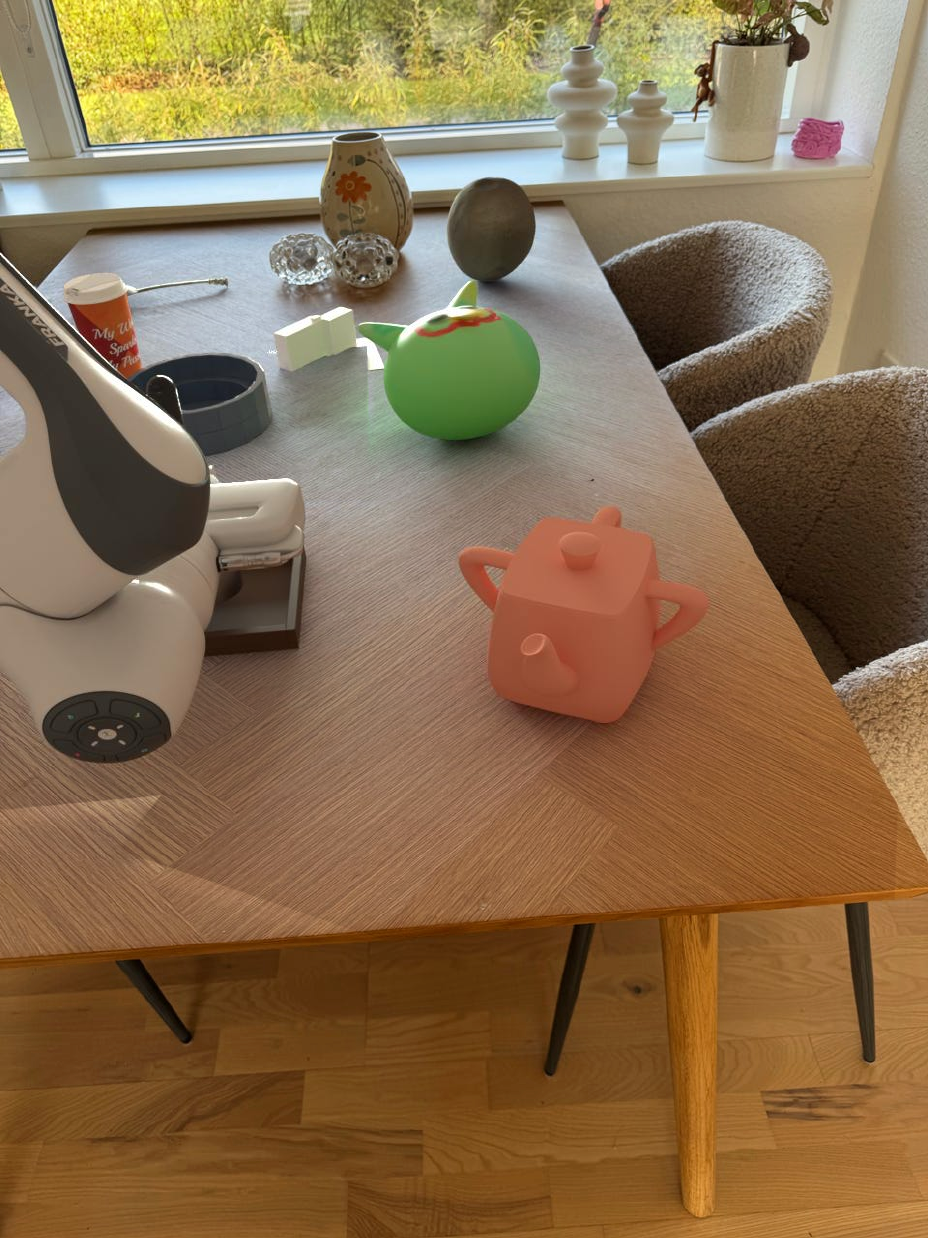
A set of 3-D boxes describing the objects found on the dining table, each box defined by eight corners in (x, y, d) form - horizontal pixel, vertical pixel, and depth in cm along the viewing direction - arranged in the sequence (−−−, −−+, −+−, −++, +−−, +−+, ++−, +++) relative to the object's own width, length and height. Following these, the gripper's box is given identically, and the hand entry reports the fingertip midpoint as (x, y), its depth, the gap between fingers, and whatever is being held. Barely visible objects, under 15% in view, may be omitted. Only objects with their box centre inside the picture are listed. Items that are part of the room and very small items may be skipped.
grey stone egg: (433, 290, 144) (427, 188, 135) (468, 262, 154) (465, 164, 145) (518, 300, 140) (518, 194, 130) (548, 269, 150) (550, 169, 140)
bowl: (119, 467, 105) (104, 419, 101) (146, 402, 118) (133, 357, 114) (266, 456, 105) (257, 407, 102) (277, 392, 118) (268, 347, 114)
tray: (114, 664, 78) (107, 645, 77) (143, 570, 89) (138, 552, 87) (298, 648, 79) (295, 629, 77) (306, 557, 89) (303, 539, 88)
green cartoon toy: (435, 480, 100) (426, 349, 90) (360, 422, 111) (346, 301, 101) (566, 431, 107) (570, 306, 98) (484, 382, 118) (481, 265, 109)
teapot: (603, 596, 83) (612, 467, 74) (715, 704, 71) (739, 567, 63) (434, 655, 77) (423, 524, 69) (526, 783, 66) (526, 644, 58)
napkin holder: (273, 384, 120) (265, 341, 117) (265, 350, 129) (258, 310, 125) (385, 367, 123) (381, 325, 119) (371, 336, 131) (367, 296, 128)
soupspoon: (90, 305, 148) (91, 321, 143) (83, 284, 146) (84, 300, 141) (227, 279, 152) (232, 294, 148) (222, 259, 150) (227, 273, 145)
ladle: (165, 608, 79) (106, 391, 68) (184, 572, 84) (131, 365, 73) (234, 605, 78) (186, 387, 68) (249, 570, 83) (206, 361, 73)
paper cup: (121, 407, 117) (88, 297, 108) (81, 395, 120) (45, 287, 111) (167, 383, 122) (139, 276, 113) (126, 372, 125) (96, 267, 116)
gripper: (295, 524, 64) (305, 431, 75) (-6, 548, 63) (48, 451, 74) (308, 596, 68) (316, 498, 78) (26, 620, 67) (73, 517, 78)
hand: (184, 475), depth 76 cm, fingers closed on ladle, 2 cm apart
